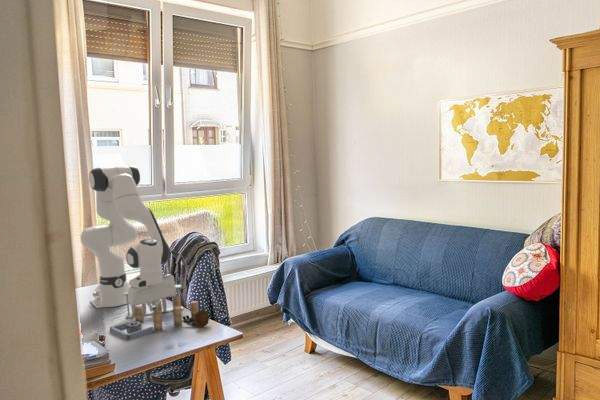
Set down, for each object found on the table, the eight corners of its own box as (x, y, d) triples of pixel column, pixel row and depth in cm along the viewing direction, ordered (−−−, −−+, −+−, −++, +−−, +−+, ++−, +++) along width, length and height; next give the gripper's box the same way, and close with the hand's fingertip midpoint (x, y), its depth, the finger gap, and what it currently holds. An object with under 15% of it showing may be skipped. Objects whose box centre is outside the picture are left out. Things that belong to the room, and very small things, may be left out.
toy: (194, 308, 209) (212, 306, 198) (197, 324, 208) (216, 324, 197) (174, 313, 202) (192, 312, 191) (177, 331, 201) (195, 331, 191)
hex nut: (125, 331, 195) (124, 324, 195) (136, 328, 199) (135, 320, 198) (131, 335, 191) (131, 327, 191) (143, 331, 195) (142, 323, 194)
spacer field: (134, 323, 205) (132, 307, 204) (177, 310, 220) (176, 295, 219) (156, 332, 192) (155, 315, 191) (201, 318, 207) (200, 302, 206)
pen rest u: (110, 332, 195) (109, 327, 195) (135, 324, 203) (135, 319, 203) (127, 340, 185) (126, 335, 185) (153, 332, 193) (153, 327, 193)
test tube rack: (125, 319, 211) (123, 289, 210) (125, 316, 215) (123, 287, 214) (183, 310, 220) (181, 281, 219) (182, 307, 224) (180, 279, 223)
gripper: (169, 271, 210) (171, 302, 211) (125, 282, 195) (127, 315, 197) (177, 274, 205) (179, 305, 207) (132, 285, 191) (135, 318, 192)
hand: (153, 310), depth 202 cm, fingers closed
